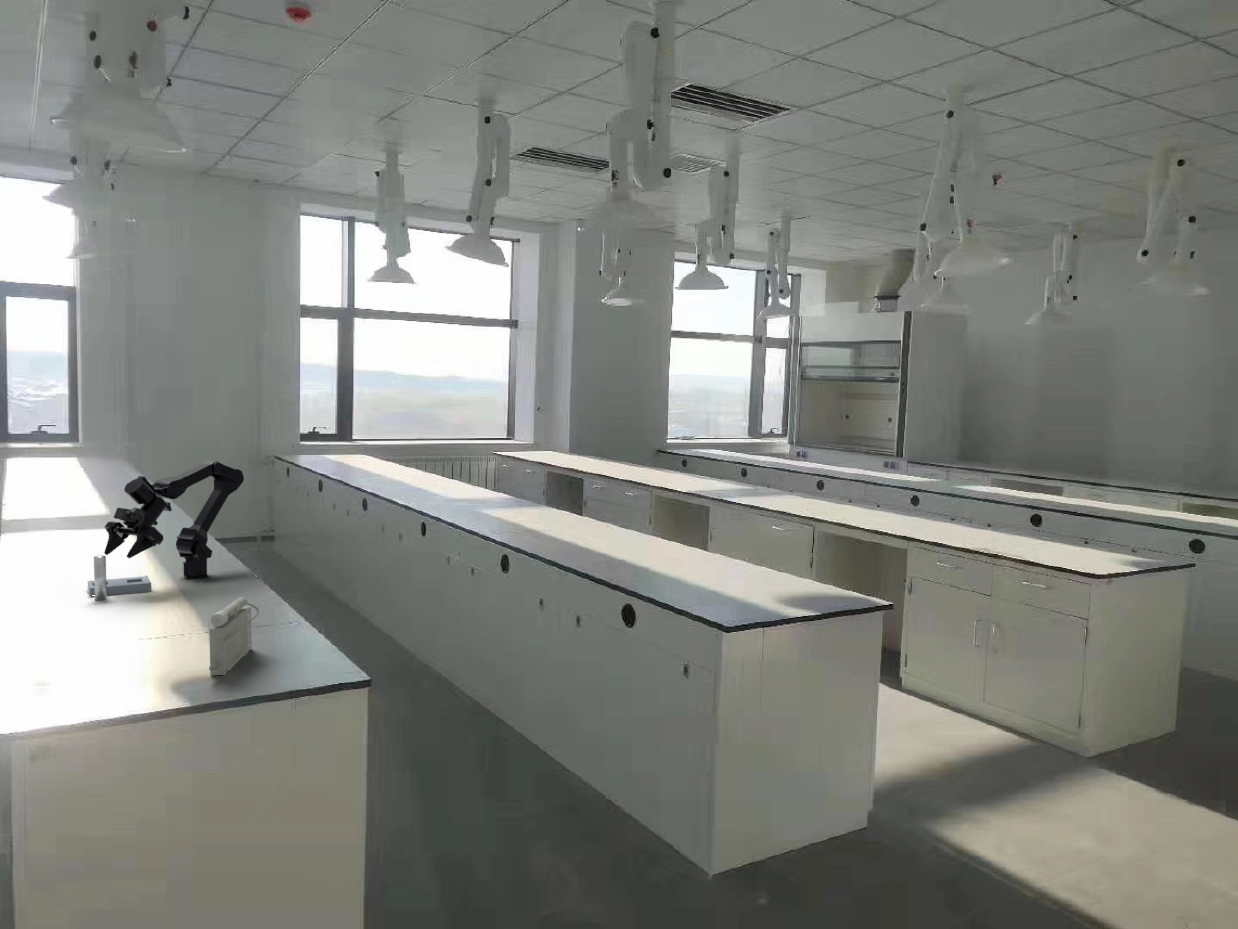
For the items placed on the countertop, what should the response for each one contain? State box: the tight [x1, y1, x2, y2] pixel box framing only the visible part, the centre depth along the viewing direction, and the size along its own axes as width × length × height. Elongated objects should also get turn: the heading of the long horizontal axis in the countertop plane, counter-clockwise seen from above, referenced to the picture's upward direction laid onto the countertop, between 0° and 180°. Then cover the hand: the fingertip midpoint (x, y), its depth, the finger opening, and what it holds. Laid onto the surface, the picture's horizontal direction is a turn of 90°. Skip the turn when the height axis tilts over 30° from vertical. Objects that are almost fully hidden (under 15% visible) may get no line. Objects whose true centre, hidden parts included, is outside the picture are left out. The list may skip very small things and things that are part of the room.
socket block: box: [87, 575, 152, 597], centre depth 273 cm, size 16×10×2 cm, turn 123°
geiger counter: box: [208, 596, 260, 676], centre depth 209 cm, size 14×6×25 cm
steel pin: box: [93, 554, 108, 601], centre depth 262 cm, size 3×3×12 cm
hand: (116, 555), depth 266 cm, fingers open, 9 cm apart
